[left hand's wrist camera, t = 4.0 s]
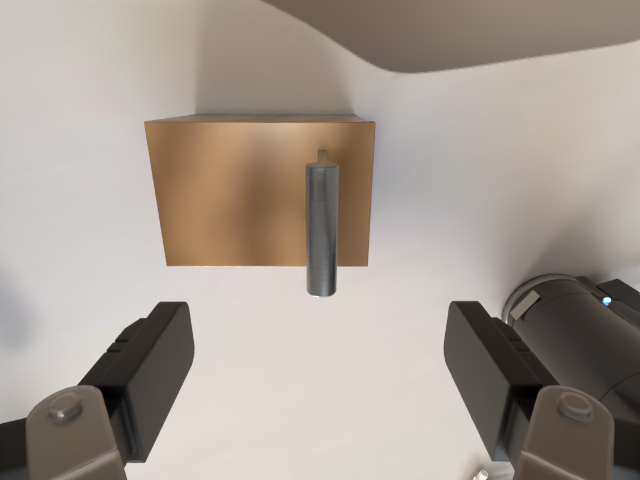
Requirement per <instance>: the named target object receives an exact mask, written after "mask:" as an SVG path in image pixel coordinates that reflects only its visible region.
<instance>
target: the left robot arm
mask: <svg viewBox="0 0 640 480" xmlns="http://www.w3.org/2000/svg"><path fill="white" fill-rule="evenodd" d="M444 357H445V362H446V365H447V367H448V369H449V371H450V373H451V375H452V377H453V380H454V382H455V384H456V386H457V388H458V390H459V392H460V394H461V396H462V399H463V401H464V403H465V405H466V407H467V409H468V411H469V413H470V415H471V418H472V420H473V422H474V424H475V426H476V428H477V430H478V432H479V434H480V437H481V439H482V441H483V443H484V445H485V447H486V449H487V451H488V454H489V456H490V458H491V460H492V461H510V462H511V464H512V466H513V468H514V470H515V474H514V477H513V480H640V292H638V291H637V290H635V289H633V288H632V287H630V286H629V285H627V284H625V283H624V282H622V281H620V280H619V279H615V280H611V281H608V282H605V283H601V284H598V285H597V284H595V283H594V282H592V281H591V280H589V279H588V278H586V277H580V278H572V277H570V276H566V275H560V274H551V275H544V276H540V277H537V278H535V279H532V280H530V281H528V282H527V283H525V284H523V285H522V286H521V287H519V288H518V289H517V290H516V291H515V292H514V293H513V294H512V295H511V297H510V298H509V300H508V301H507V303H506V305H505V308H504V311H503V316H502V320H500V319H499V318H497V317H490V315H489V314H488V313H487V311H486V310H485V309H484V308H483V306H482V305H481V304H480V303H479V302H478V301H452V302H451V303H450V306H449V311H448V318H447V325H446V332H445V339H444ZM193 358H194V339H193V332H192V325H191V318H190V312H189V307H188V304H187V303H186V302H159V303H158V304H157V305H156V307H155V308H154V309H153V310H152V312H151V313H150V314H149V316H148V317H147V318H140V319H139V320H137V321H136V322H134V323H133V324H131V325H129V326H128V327H126V328H125V329H124V330H123V331H122V333H121V334H120V335H119V336H118V337H117V339H116V340H115V343H112V345H111V346H110V347H109V348H108V349H107V352H106V353H104V354H103V355H102V356H101V358H100V359H99V360H98V361H97V362H96V363H95V365H94V366H93V367H92V368H91V369H90V371H89V372H88V373H87V374H86V375H85V377H84V378H83V379H82V380H81V381H80V382H79V384H78V385H77V386H73V387H69V388H66V389H63V390H60V391H58V392H56V393H54V394H52V395H50V396H48V397H47V398H45V399H44V400H42V401H41V402H40V403H39V404H37V405H36V406H35V407H34V408H33V409H32V411H31V412H30V413H29V415H28V417H27V418H23V419H19V420H15V421H11V422H6V423H2V424H0V480H127V477H126V474H125V470H124V467H125V466H126V464H127V463H145V462H146V460H147V458H148V455H149V453H150V451H151V449H152V447H153V445H154V443H155V441H156V439H157V437H158V435H159V432H160V430H161V428H162V426H163V424H164V422H165V420H166V418H167V416H168V414H169V412H170V409H171V407H172V405H173V403H174V401H175V399H176V397H177V395H178V393H179V391H180V389H181V387H182V384H183V382H184V380H185V378H186V376H187V374H188V372H189V370H190V368H191V365H192V363H193Z"/></svg>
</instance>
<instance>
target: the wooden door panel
mask: <svg viewBox="0 0 640 480" xmlns="http://www.w3.org/2000/svg"><path fill="white" fill-rule="evenodd" d="M144 125H145V131H146V137H147V144H148V150H149V156H150V162H151V169H152V175H153V181H154V188H155V194H156V200H157V206H158V213H159V219H160V225H161V232H162V238H163V244H164V250H165V257H166V263H167V266H307V292H308V293H309V294H310V295H312V296H314V297H329V296H332V295H333V294H334V293H335V292H336V279H337V266H359V267H367V266H368V251H369V232H370V213H371V194H372V175H373V157H374V138H375V122H373V121H145V122H144Z"/></svg>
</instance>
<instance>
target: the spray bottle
mask: <svg viewBox="0 0 640 480" xmlns="http://www.w3.org/2000/svg"><path fill="white" fill-rule="evenodd" d="M487 477H488V473H487V472H486V471H485V470H483V469H481V471H480V472H479V474H478V475H477V476H475V477H474V478H473V480H486V479H487Z"/></svg>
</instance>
